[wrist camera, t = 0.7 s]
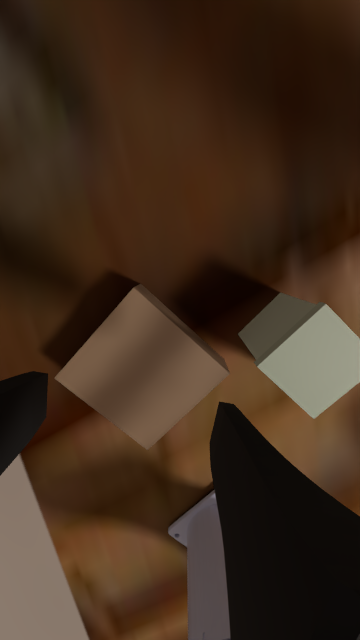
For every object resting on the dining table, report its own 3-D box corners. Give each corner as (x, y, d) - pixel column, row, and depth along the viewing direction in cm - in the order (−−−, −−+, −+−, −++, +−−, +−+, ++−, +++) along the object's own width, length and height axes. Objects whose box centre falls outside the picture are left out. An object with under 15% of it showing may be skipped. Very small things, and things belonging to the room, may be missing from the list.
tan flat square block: (223, 357, 20) (229, 373, 17) (152, 424, 22) (147, 450, 19) (141, 283, 19) (133, 287, 16) (72, 361, 20) (54, 378, 18)
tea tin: (321, 331, 19) (382, 363, 13) (275, 371, 20) (313, 418, 14) (280, 289, 18) (326, 303, 12) (234, 333, 19) (257, 366, 13)
